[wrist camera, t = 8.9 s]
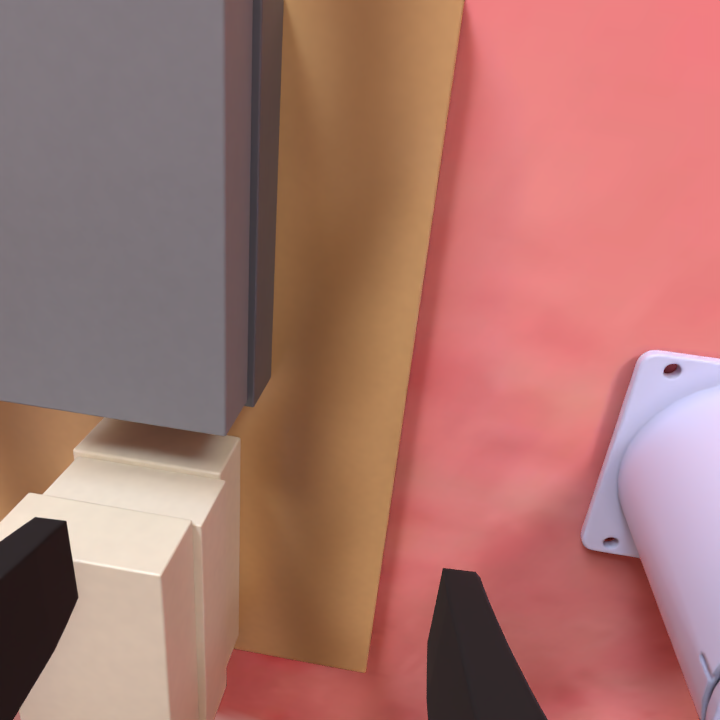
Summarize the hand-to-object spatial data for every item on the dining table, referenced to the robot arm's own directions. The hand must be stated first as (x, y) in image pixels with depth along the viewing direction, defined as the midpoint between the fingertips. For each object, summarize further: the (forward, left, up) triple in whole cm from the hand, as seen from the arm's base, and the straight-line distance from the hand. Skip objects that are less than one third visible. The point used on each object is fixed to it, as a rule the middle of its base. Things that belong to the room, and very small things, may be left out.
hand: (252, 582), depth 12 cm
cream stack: (+6, +8, -9) cm, 14 cm away
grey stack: (+6, -5, -9) cm, 12 cm away
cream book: (+6, +8, -5) cm, 11 cm away
